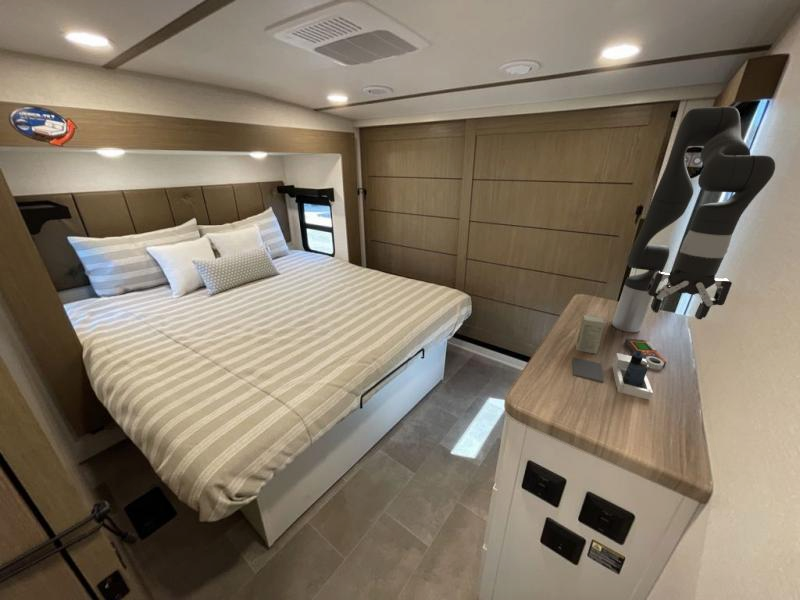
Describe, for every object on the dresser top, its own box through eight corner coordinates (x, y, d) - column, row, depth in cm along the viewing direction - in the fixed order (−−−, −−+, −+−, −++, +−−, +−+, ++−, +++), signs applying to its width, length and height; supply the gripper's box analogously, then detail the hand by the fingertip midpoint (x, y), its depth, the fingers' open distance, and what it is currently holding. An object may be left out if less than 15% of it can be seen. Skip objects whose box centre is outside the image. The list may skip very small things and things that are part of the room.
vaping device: (619, 383, 90) (631, 349, 85) (635, 382, 91) (648, 348, 86) (625, 389, 88) (638, 354, 83) (642, 388, 88) (656, 353, 84)
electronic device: (648, 363, 96) (625, 336, 109) (644, 370, 97) (623, 343, 110) (672, 365, 95) (646, 338, 108) (668, 373, 96) (643, 345, 109)
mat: (572, 358, 102) (573, 357, 102) (600, 364, 99) (600, 363, 99) (573, 375, 94) (573, 374, 94) (603, 382, 91) (603, 381, 91)
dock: (608, 350, 106) (613, 337, 104) (634, 355, 103) (639, 342, 101) (617, 391, 87) (623, 376, 85) (649, 399, 84) (656, 384, 82)
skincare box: (595, 348, 108) (604, 317, 102) (596, 354, 104) (606, 323, 99) (574, 344, 110) (582, 313, 105) (575, 350, 106) (583, 319, 101)
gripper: (736, 251, 70) (706, 314, 77) (659, 244, 76) (638, 303, 82) (752, 260, 64) (719, 327, 70) (667, 252, 69) (644, 315, 76)
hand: (675, 314), depth 76 cm, fingers open, 8 cm apart
